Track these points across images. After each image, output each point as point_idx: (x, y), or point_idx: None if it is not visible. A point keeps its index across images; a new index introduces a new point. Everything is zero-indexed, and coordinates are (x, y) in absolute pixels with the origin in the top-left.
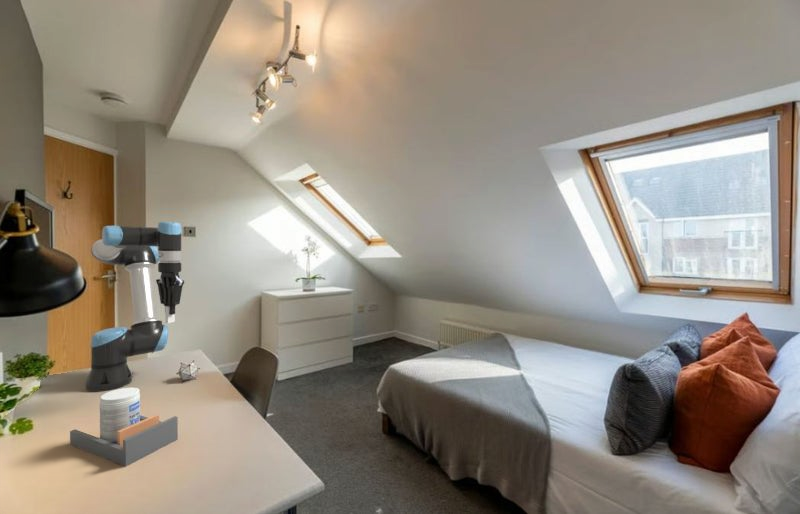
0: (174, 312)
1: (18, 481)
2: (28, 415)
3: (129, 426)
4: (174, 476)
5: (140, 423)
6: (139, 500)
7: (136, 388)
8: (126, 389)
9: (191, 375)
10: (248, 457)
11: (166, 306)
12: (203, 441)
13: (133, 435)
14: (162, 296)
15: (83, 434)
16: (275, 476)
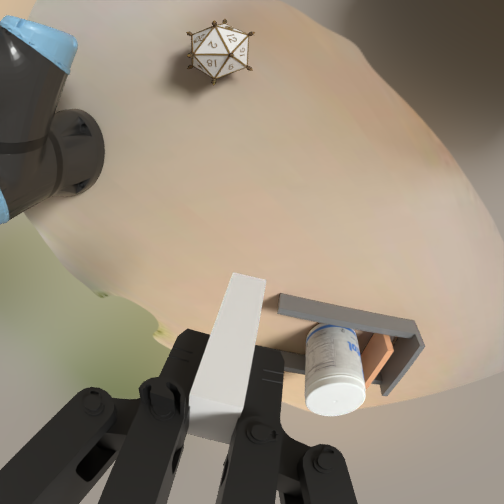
0: (282, 369)
1: (284, 397)
2: (100, 288)
3: (369, 379)
4: (440, 368)
5: (379, 371)
6: (423, 392)
7: (350, 385)
8: (333, 391)
9: (246, 62)
10: (501, 328)
11: (207, 438)
12: (450, 316)
13: (389, 388)
14: (86, 492)
15: (290, 370)
16: None
